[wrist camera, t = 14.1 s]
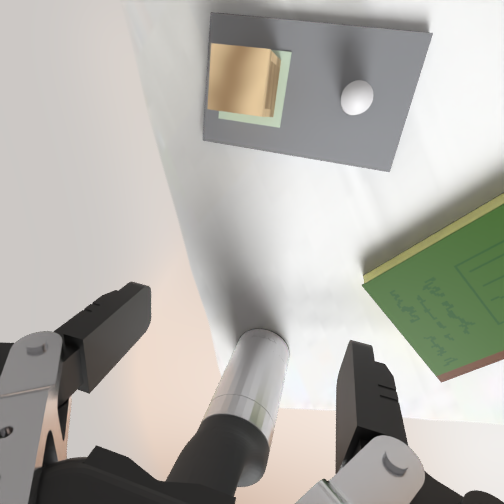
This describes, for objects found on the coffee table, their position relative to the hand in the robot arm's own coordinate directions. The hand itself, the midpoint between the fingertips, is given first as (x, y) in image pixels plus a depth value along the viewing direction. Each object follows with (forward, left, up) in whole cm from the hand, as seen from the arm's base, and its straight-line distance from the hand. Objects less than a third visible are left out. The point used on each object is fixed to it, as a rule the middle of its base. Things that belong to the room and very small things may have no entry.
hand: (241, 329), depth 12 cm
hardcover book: (-8, -25, -34) cm, 43 cm away
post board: (+10, +3, -33) cm, 35 cm away
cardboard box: (+10, +9, -31) cm, 34 cm away
